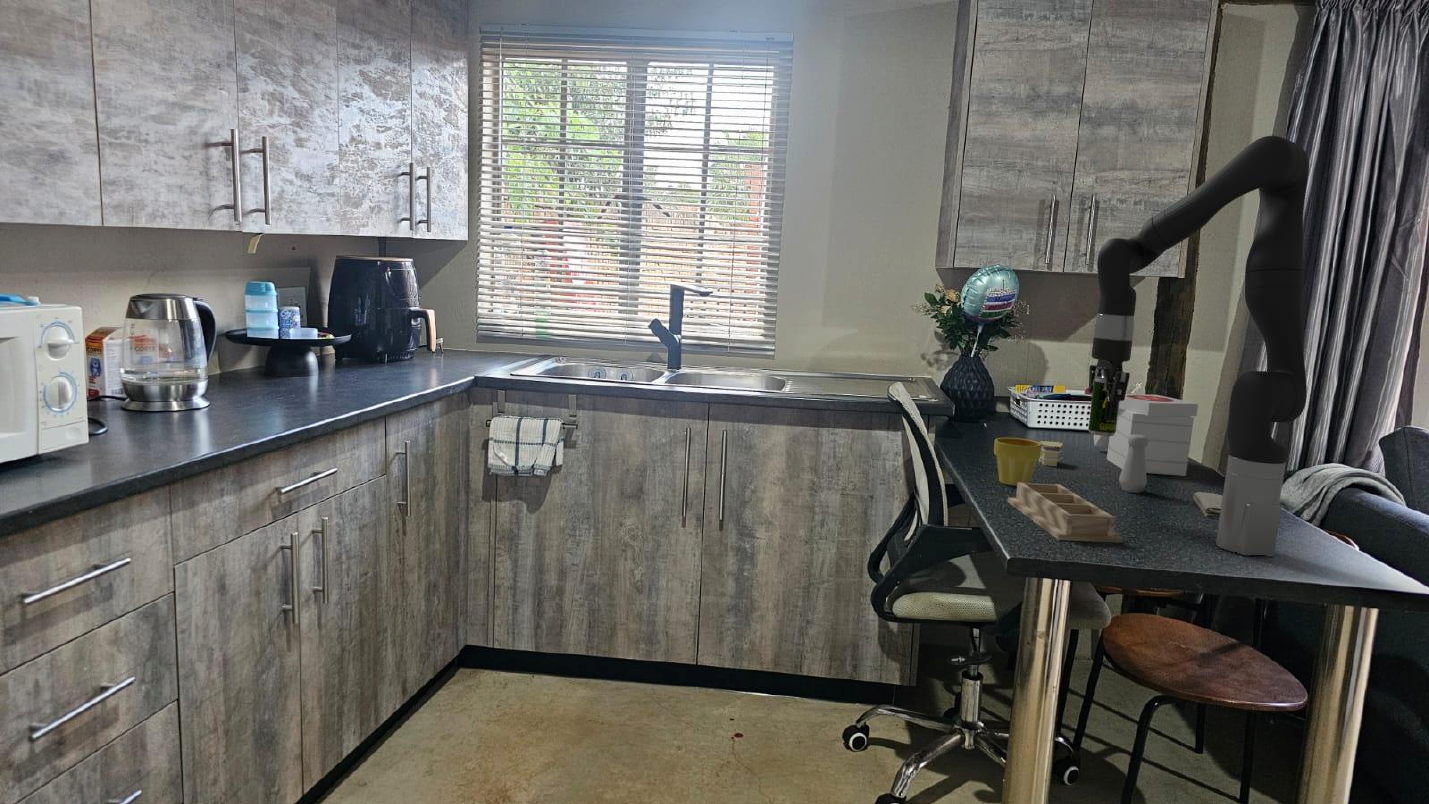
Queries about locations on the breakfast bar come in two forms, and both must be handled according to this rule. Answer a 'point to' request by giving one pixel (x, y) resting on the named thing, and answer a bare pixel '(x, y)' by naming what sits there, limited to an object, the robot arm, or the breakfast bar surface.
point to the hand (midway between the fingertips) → (1103, 417)
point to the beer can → (1100, 411)
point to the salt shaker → (1134, 465)
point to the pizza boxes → (1153, 432)
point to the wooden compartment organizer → (1064, 513)
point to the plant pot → (1016, 459)
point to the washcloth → (1209, 503)
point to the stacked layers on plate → (1050, 453)
